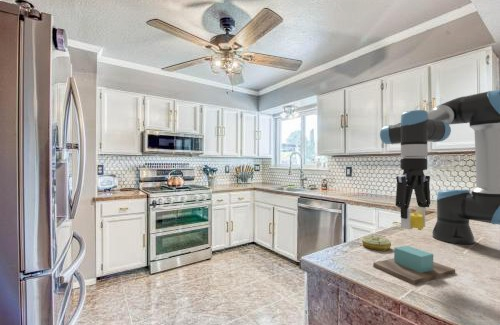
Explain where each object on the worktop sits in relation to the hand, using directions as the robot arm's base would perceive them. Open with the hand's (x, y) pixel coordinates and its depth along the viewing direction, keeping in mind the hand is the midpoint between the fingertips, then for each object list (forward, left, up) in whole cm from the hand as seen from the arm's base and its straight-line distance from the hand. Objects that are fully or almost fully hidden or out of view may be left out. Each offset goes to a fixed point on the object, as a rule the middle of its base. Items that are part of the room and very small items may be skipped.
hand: (413, 227), depth 83 cm
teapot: (0, 0, 0) cm, 1 cm away
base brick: (0, 0, -13) cm, 13 cm away
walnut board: (0, 0, -14) cm, 14 cm away
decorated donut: (-8, -21, -14) cm, 27 cm away
